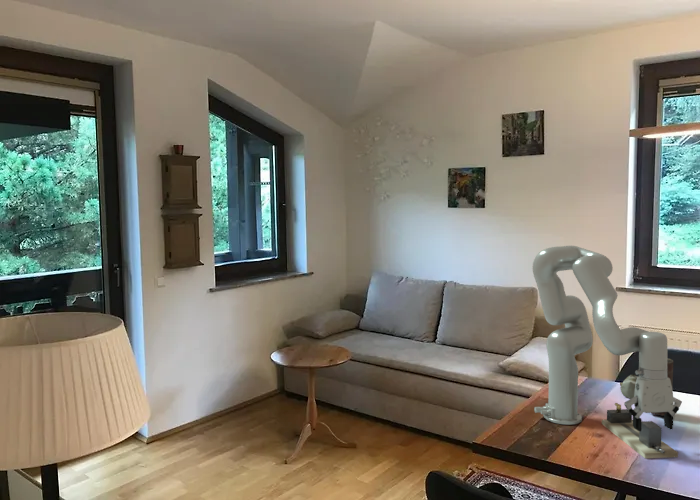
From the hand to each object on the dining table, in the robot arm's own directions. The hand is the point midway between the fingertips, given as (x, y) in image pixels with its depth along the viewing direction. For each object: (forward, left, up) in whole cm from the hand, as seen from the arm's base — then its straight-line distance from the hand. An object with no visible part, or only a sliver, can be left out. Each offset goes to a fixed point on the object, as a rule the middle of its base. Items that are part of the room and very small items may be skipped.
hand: (652, 428), depth 174 cm
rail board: (0, +8, -7) cm, 10 cm away
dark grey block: (0, -2, -5) cm, 5 cm away
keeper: (0, +19, -5) cm, 20 cm away
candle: (+19, +27, -7) cm, 33 cm away
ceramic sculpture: (+20, +47, -7) cm, 52 cm away
